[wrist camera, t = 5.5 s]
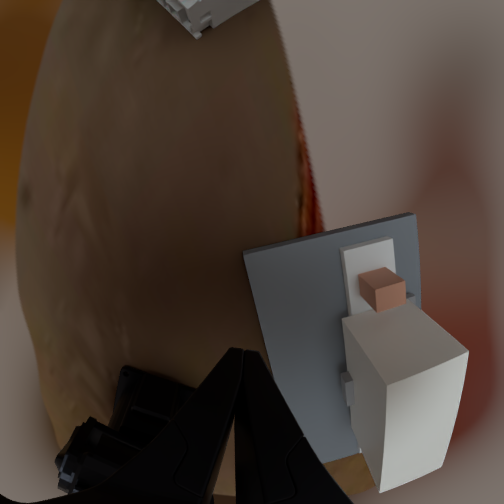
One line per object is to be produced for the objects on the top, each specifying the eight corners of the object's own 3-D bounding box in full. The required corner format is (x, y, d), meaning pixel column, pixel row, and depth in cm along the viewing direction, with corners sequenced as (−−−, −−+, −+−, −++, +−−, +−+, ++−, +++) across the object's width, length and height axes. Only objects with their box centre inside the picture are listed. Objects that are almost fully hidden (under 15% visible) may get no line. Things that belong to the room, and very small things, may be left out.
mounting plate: (295, 462, 27) (303, 497, 22) (242, 251, 21) (244, 273, 16) (408, 426, 27) (426, 456, 22) (408, 212, 21) (445, 223, 16)
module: (343, 428, 24) (371, 499, 16) (330, 316, 21) (375, 389, 13) (408, 406, 24) (447, 467, 16) (411, 292, 21) (478, 346, 13)
